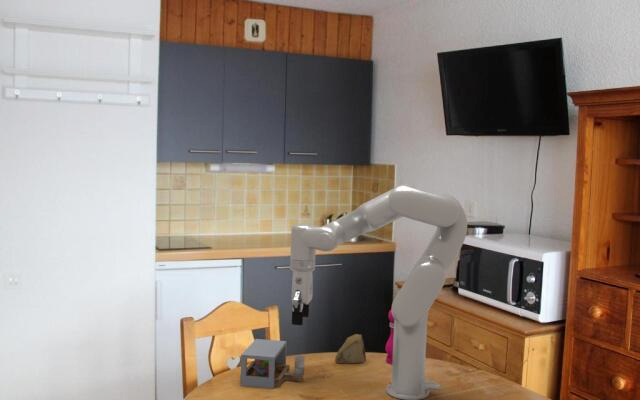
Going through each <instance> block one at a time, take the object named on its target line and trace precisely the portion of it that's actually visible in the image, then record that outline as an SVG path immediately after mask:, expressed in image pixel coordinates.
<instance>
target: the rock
mask: <svg viewBox="0 0 640 400" xmlns="http://www.w3.org/2000/svg"><path fill="white" fill-rule="evenodd" d="M366 355H367V354H366V348H365V343H364V338H363V335H362V334H358V333H355V334H352V335H350V336H348V337H346V340H345V341H344V343H343V344H342V345H341V347H340V348H339V349H338V351H337V353H336V355H335V359H334V362H335V363H336V364H356V363H365V362H366V360H367V359H366V358H367V357H366Z"/></svg>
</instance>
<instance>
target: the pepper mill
mask: <svg viewBox="0 0 640 400" xmlns="http://www.w3.org/2000/svg"><path fill="white" fill-rule="evenodd" d="M388 320H389V321H390V322H389V327H390V335H389V338H388V340H387V341H386V344H385V350H384V351H385V352H386V358H385V359H386V361H385V362H386V363H387V364H389V365H392V363H393V339H394V321H395V319H394V317H393V315H392V308H391V309H390V310H389V312H388Z"/></svg>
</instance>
